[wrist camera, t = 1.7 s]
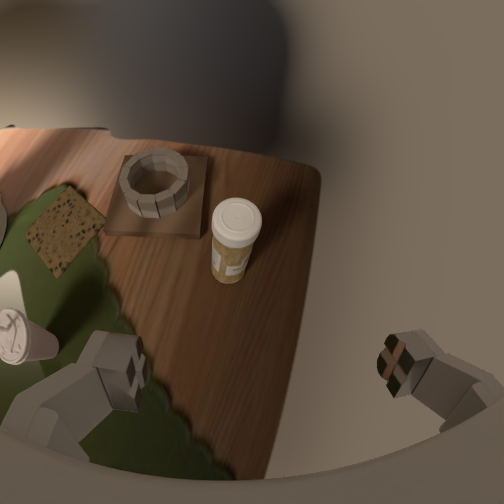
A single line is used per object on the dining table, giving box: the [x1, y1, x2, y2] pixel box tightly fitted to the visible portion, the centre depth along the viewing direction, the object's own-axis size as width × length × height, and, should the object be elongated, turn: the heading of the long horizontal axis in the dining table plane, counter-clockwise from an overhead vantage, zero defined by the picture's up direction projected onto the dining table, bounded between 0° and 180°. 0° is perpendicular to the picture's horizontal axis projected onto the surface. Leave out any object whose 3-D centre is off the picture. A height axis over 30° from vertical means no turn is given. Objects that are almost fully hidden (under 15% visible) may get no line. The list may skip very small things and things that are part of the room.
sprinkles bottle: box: [211, 198, 262, 284], centre depth 31 cm, size 5×5×13 cm
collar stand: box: [103, 148, 208, 239], centre depth 37 cm, size 14×14×6 cm
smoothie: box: [0, 308, 59, 365], centre depth 22 cm, size 6×6×14 cm
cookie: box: [25, 186, 106, 278], centre depth 35 cm, size 12×12×1 cm
